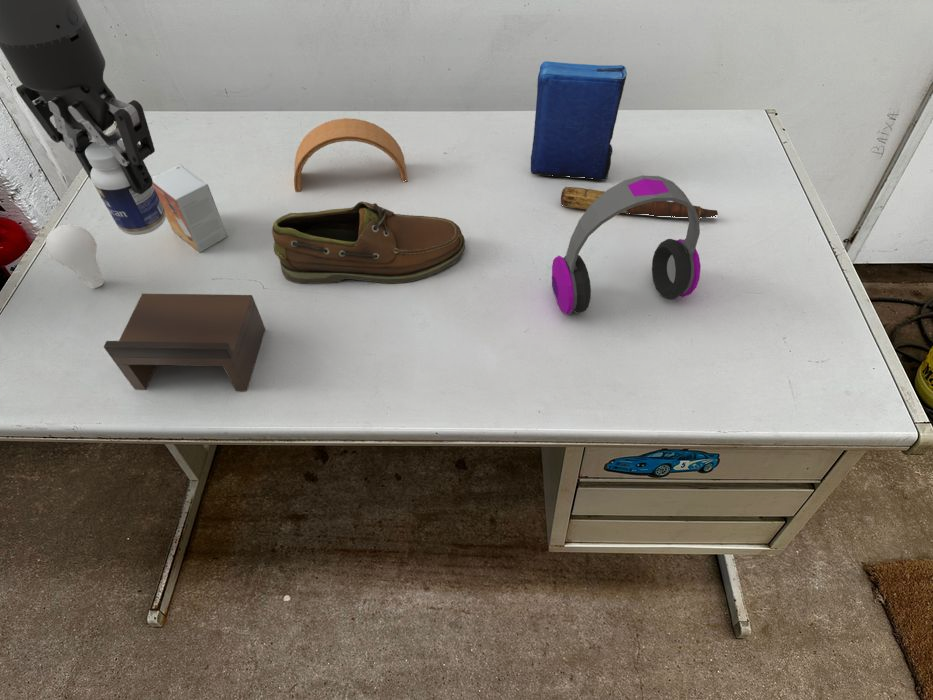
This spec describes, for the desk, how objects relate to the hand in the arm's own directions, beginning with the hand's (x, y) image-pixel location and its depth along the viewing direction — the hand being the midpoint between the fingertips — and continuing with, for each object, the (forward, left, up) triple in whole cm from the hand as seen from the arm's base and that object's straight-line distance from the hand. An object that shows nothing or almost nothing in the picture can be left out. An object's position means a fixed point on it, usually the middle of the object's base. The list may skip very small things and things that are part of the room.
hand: (122, 182), depth 67 cm
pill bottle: (0, 0, -6) cm, 6 cm away
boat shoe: (+16, +23, -26) cm, 38 cm away
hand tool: (+51, +52, -26) cm, 77 cm away
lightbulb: (-21, +2, -26) cm, 33 cm away
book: (+37, +58, -26) cm, 73 cm away
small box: (-14, +18, -26) cm, 34 cm away
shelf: (+3, -3, -26) cm, 26 cm away
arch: (+1, +41, -26) cm, 48 cm away
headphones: (+53, +31, -26) cm, 66 cm away
